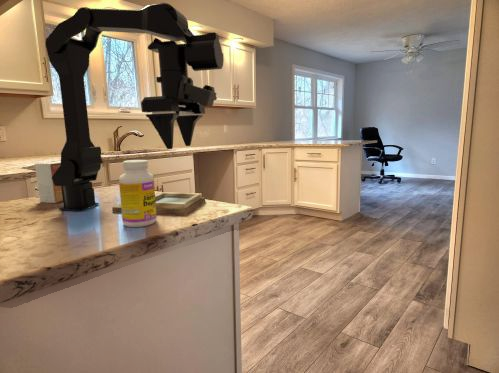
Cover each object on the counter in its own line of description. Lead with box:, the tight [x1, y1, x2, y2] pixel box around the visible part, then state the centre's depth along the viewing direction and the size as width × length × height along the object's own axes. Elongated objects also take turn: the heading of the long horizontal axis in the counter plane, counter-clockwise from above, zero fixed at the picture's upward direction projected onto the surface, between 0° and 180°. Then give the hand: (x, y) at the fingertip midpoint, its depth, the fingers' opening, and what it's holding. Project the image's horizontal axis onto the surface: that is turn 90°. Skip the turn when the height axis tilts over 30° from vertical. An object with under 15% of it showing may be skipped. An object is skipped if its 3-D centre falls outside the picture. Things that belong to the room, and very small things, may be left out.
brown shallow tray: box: [111, 191, 206, 217], centre depth 78 cm, size 18×13×2 cm
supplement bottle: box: [118, 159, 158, 228], centre depth 64 cm, size 7×7×13 cm
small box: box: [34, 160, 63, 204], centre depth 87 cm, size 8×6×10 cm
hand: (179, 147), depth 70 cm, fingers open, 9 cm apart
